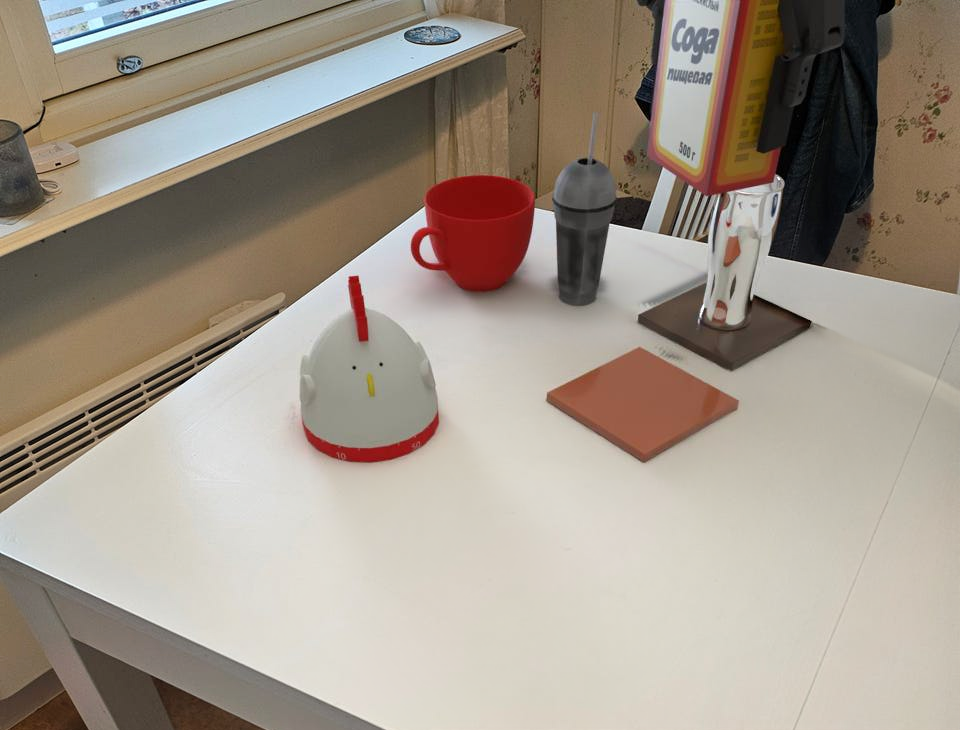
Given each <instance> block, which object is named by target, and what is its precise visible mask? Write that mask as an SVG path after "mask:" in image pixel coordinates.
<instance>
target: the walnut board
mask: <svg viewBox="0 0 960 730" xmlns="http://www.w3.org/2000/svg"><path fill="white" fill-rule="evenodd" d="M706 286H707V281H706V282H703V283H701V284H700V285H697V286H695V287H693V288H691V289H689V290H687V291H685V292H683V293H681V294H678V295H676V296H675V297H672V298H670V299H668V300H665V301H664V302H661V303H660V304H658V305H656V306H653V307H651V308H649V309H647V310H644V311H643V312H640V313H638V315H637V321H636V322H637V323H638V324H640V325H642V326H643V327H646V328H647V329H650V330H651V331H653V332H655V333H657V334H659V335H660V336H663V337H665V338H667V339H669V340H671V341H673V342H674V343H676V344H678V345H680V346H682V347H684V348H685V349H688V350H689V351H691V352H694V353H695V354H697V355H699V356H701V357H703V358H704V359H707V360H708V361H711V362H713V363H714V364H717V365H718V366H720V367H722V368H724V369H726V370H728V371H730V372H732V371H734V370H736V369H738V368H739V367H741V366H744V365H745V364H747V363H749V362H751V361H752V360H755V359H756V358H758V357H760V356H762V355H763V354H765V353H768V352H769V351H772V350H773V349H774V348H776V347H778V346H780V345H781V344H784V343H785V342H787V341H789V340H791V339H793V338H795V337H797V336H798V335H800V334H801V333H804V332H805V331H808V330H809V329H810V328H811V325H812V320H811V319H808V318H806V317H804V316H803V315H800V314H798V313H796V312H794V311H791V310H789V309H787V308H784V307H783V306H780V305H779V304H776V303H774V302H772V301H769V300H767V299H765V298H763V297H761V296H758V295H756V294H755V293H754V294H753V305H752V319H751V322H750V323H749V324H748V325H747V326H745V327H743V328H741V329H737V330H720V329H715V328H712V327H709V326H707V325H705V324H704V323H703V322H701V320H700V319H699V317H698V310H699V307H700V304H701V302H702V299H703V297H704V294H705V290H706Z"/></svg>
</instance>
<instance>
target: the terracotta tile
mask: <svg viewBox="0 0 960 730" xmlns="http://www.w3.org/2000/svg"><path fill="white" fill-rule="evenodd" d="M545 401H546V402H548V403H549V404H551V405H552V406H554V407H555V408H557V409H559V410H560V411H562V412H563V413H565V414H567V415H568V416H570V417H571V418H573V419H575V420H577V421H578V422H579V423H581V424H583V425H584V426H586V427H587V428H588V429H590V430H591V431H594V432H595V433H597V434H598V435H600V436H601V437H603V438H604V439H606V440H607V441H609V442H611V443H612V444H614V445H615V446H617V447H619V448H620V449H622V450H623V451H625V452H627V453H628V454H630V455H631V456H633V457H634V458H636V459H637V460H639V461H641V462H643V463H645V462H647V461H648V460H651V459H652V458H654V457H656V456H657V455H659V454H661V453H662V452H664V451H666V450H667V449H670V448H671V447H674V446H675V445H676V444H678V443H680V442H681V441H683V440H685V439H687V438H689V437H690V436H692V435H694V434H695V433H697V432H699V431H701V430H702V429H704V428H707V427H708V426H709V425H711V424H713V423H714V422H716V421H718V420H720V419H722V418H723V417H725V416H727V415H729V414H730V413H732V412H734V411H735V410H737V409H738V407H739V403H740V401H739V399H737V398H735V397H733V396H731V395H730V394H729V393H726V392H725V391H723V390H720V389H718V388H717V387H715V386H713V385H711V384H710V383H707V382H706V381H704V380H702V379H700V378H699V377H696V376H695V375H693V374H691V373H689V372H687V371H686V370H684V369H682V368H680V367H678V366H677V365H675V364H673V363H671V362H670V361H667V360H665V359H663V358H661V357H659V356H658V355H656V354H654V353H652V352H650V351H648V350H647V349H645V348H643V347H642V346H638V347H636V348H633V349H632V350H630V351H628V352H625V353H624V354H622V355H620V356H618V357H615V358H613V359H612V360H610V361H608V362H606V363H604V364H602V365H600V366H598V367H596V368H594V369H592V370H590V371H587V372H586V373H584V374H582V375H579V376H578V377H576V378H573V379H572V380H569V381H567V382H565V383H564V384H561V385H560V386H557V387H556V388H553V389H552V390H550V391H547V392H546V400H545Z"/></svg>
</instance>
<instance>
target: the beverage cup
mask: <svg viewBox="0 0 960 730" xmlns="http://www.w3.org/2000/svg"><path fill="white" fill-rule="evenodd" d="M598 120H599V111H593V115H592V122H591V123H592V124H591V131H590V140H589V146H588V154H587V155H588V156H587V157H581V158H577V159H574V160H573V161H571V162H570V163H568V164H567V165H566V166H565V167H564V168H563V169H562V170H561V172H560V173H559V175H558V177H557V178H556V181H555V185H554V189H553V193H552V198H551V202H552V203H553V207H552V208H553V217H554V219H555V235H556V236H555V238H556V269H557V271H556V272H557V286H558V298H559V300H560V302H562V303H564V304H566V305H570V306H576V307H582V306H587V305H591V304H592V303H595V301H596V299H597V293H598V288H599V285H600V280H601V274H602V269H603V263H604V262H603V261H604V257H605V251H606V246H607V241H608V235H609V229H610V223H611V221H612V219H613V216H614V213H615V207H616V204H617V203H618V201H617V200H618V197H617V187H616V181H615V178H614V176H613V174H612V172H611V171H610V169H609V168H608V166H607V165H605V163H603V162H602V161H600V160H598V159H596V158H593V157H594V149H595V142H596V134H597V129H598V128H597V127H598Z"/></svg>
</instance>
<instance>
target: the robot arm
mask: <svg viewBox="0 0 960 730" xmlns="http://www.w3.org/2000/svg"><path fill="white" fill-rule="evenodd" d="M636 2H637V4H638V6H640V7H646V8H647V9H648V10H649V11H650V12H651V15H652V18H653V19H654V24H653V32H652V33H653V34H652V40H651V41H652V43H651V51H650V62H651V64H652V65H654V73H653V79H652V80H653V82H652V90H651V91H652V92H651V98H650V106H649V114H650V115H652V106H653V98H654V90H655V81H656V73H657V65H658V56H659V48H660V39H661V31H662V23H663V14H664V6H665V0H636ZM845 6H846V0H779V3H778V8H777V9H778V14H779V19H780V23H781V28H782V33H783V38H784V42H785V47H786V52H785V53H783V54H782V55H779V56H775V61H774V66H773V71H772V76H771V81H770V86H769V91H768V96H767V100H766V105H765V110H764V115H763V120H762V125H761V130H760V135H759V140H758V144H757V149H756V151H757V152H760V153H763V154H765V153H767V152H770V151H772V150H775V149H777V148H780V147H781V148H782V147H784V146H786V144H787V140H788V135H789V132H790V131H789V130H790V126H791V122H792V117H793V113H794V109H795V106H798V105H800V104H802V103H803V101H804V99H805V97H806V94H807V89H808V86H809V85H808V84H809V81H810V77H811V72H812V67H813V64H814V60H815V58H816V56H817V55H820V54H822V53H825V52H828V51H831V50H835V49H837V48H839V47H841V46H842V45H843V43H844V42H845V36H846V33H845V31H846V30H845V27H846V25H845V24H846V23H845V21H846V20H845V18H846V17H845V16H846V15H845V14H846V11H845V8H846V7H845Z"/></svg>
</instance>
